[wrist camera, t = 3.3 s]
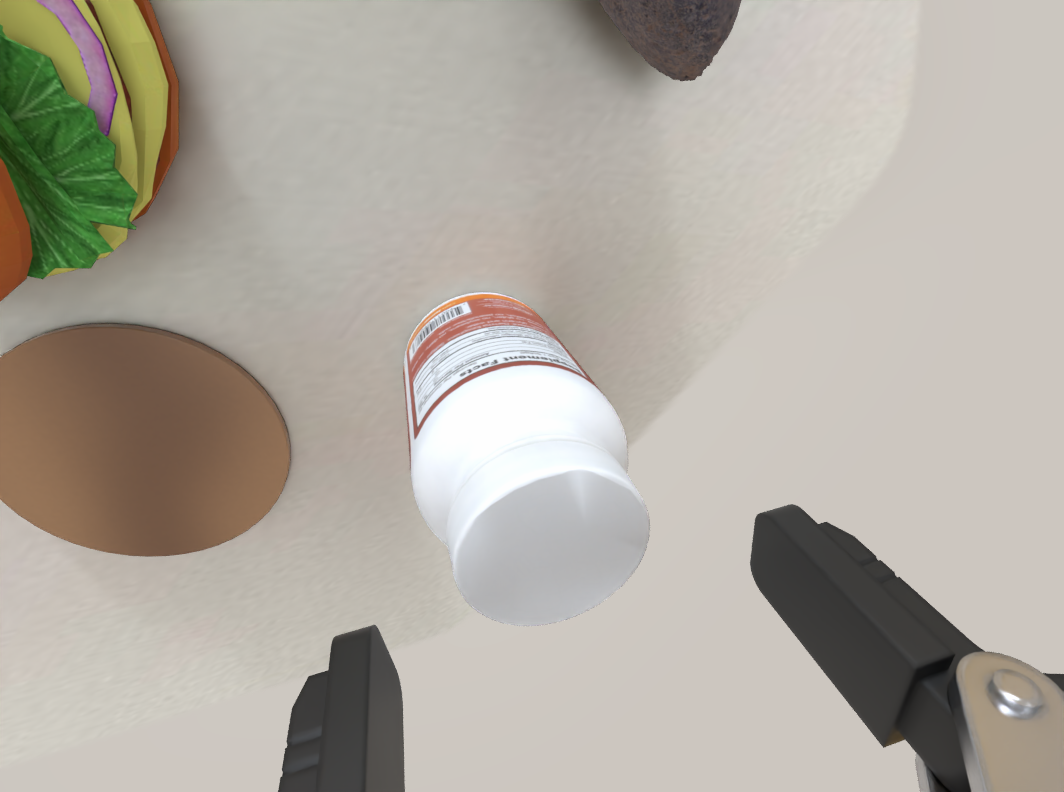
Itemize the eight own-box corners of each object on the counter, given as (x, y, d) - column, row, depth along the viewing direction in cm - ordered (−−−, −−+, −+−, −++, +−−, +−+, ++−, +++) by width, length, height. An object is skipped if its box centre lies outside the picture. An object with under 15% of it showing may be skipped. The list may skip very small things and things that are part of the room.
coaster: (76, 577, 21) (71, 584, 21) (-106, 360, 16) (-116, 365, 16) (324, 512, 23) (323, 518, 22) (228, 295, 18) (225, 298, 17)
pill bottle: (531, 432, 23) (630, 645, 14) (392, 418, 21) (396, 657, 12) (570, 302, 21) (723, 453, 11) (416, 272, 19) (447, 425, 9)
